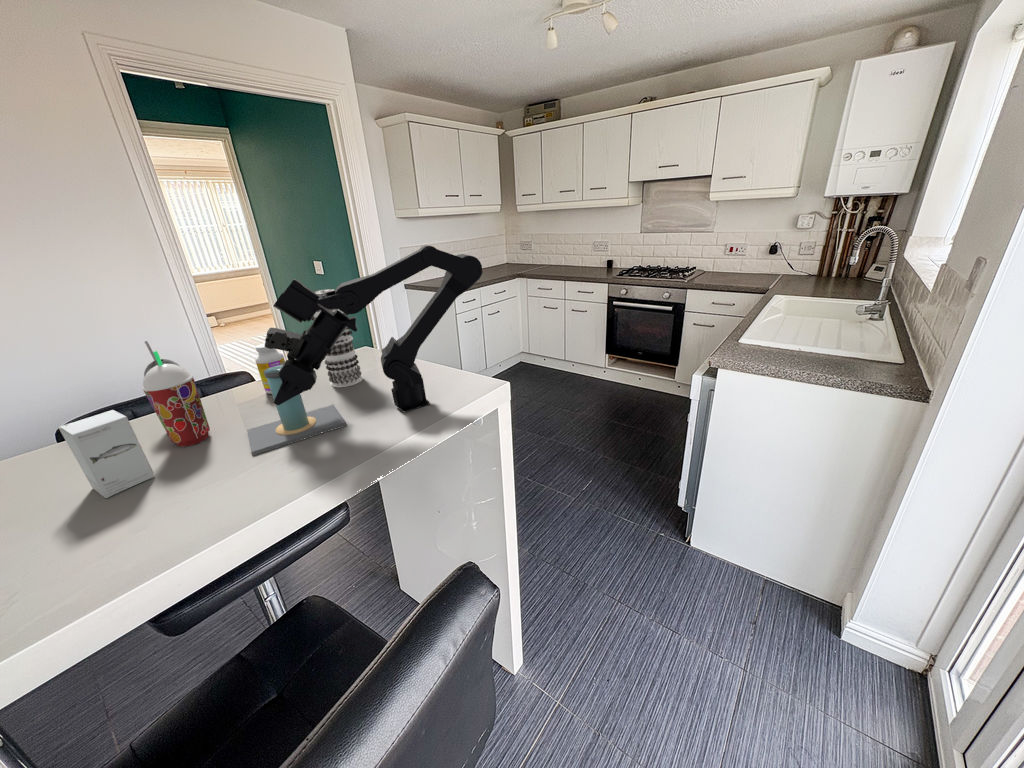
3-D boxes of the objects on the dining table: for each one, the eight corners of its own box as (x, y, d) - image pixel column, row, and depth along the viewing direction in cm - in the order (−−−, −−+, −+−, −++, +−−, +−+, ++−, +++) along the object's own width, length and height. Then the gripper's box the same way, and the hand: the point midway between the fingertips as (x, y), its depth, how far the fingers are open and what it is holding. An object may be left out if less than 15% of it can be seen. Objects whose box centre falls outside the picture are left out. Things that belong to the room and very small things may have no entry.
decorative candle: (347, 389, 109) (323, 294, 99) (321, 386, 112) (296, 294, 103) (371, 376, 116) (350, 287, 107) (346, 374, 120) (324, 287, 110)
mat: (334, 407, 98) (333, 403, 98) (346, 425, 89) (345, 421, 89) (248, 433, 89) (246, 428, 89) (252, 455, 80) (250, 451, 80)
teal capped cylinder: (313, 417, 91) (297, 362, 86) (304, 429, 87) (287, 371, 82) (288, 420, 91) (270, 365, 86) (278, 432, 86) (258, 375, 81)
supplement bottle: (276, 396, 108) (261, 349, 103) (260, 393, 111) (244, 347, 106) (298, 386, 114) (284, 341, 109) (282, 383, 117) (268, 340, 112)
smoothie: (224, 433, 90) (190, 346, 82) (183, 453, 83) (141, 360, 75) (202, 428, 93) (166, 344, 86) (160, 446, 86) (118, 357, 79)
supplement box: (105, 500, 70) (69, 435, 65) (91, 488, 74) (56, 426, 69) (157, 476, 76) (127, 415, 71) (141, 466, 79) (112, 408, 75)
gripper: (289, 304, 89) (248, 362, 90) (276, 322, 73) (227, 392, 74) (337, 333, 94) (298, 388, 95) (335, 356, 78) (288, 421, 79)
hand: (279, 395), depth 86 cm, fingers open, 9 cm apart
